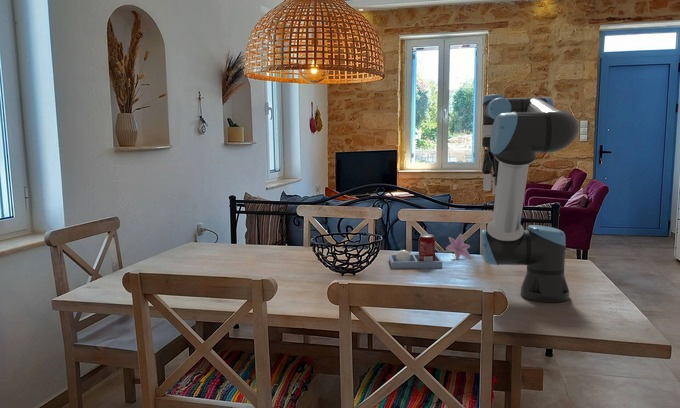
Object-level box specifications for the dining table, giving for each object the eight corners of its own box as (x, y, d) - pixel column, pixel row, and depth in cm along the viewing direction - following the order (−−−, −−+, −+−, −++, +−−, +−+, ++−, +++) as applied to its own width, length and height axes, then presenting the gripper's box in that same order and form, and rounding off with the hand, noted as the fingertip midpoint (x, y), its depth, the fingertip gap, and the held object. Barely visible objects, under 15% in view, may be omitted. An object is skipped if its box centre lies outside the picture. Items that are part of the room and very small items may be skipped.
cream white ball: (411, 265, 217) (411, 251, 216) (396, 265, 217) (396, 251, 216) (409, 262, 223) (409, 248, 222) (395, 262, 223) (395, 248, 222)
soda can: (434, 265, 216) (434, 237, 214) (418, 265, 217) (418, 236, 216) (435, 262, 222) (435, 234, 221) (419, 261, 224) (419, 233, 222)
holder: (442, 268, 213) (442, 261, 213) (392, 269, 213) (391, 262, 213) (436, 260, 226) (436, 254, 226) (389, 261, 227) (389, 254, 226)
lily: (441, 261, 230) (448, 244, 225) (440, 246, 240) (448, 229, 235) (467, 269, 230) (475, 252, 225) (465, 253, 240) (473, 237, 235)
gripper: (513, 136, 186) (511, 195, 189) (493, 136, 211) (492, 188, 213) (491, 136, 186) (490, 196, 189) (474, 136, 211) (474, 189, 213)
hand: (491, 192), depth 201 cm, fingers open, 13 cm apart
